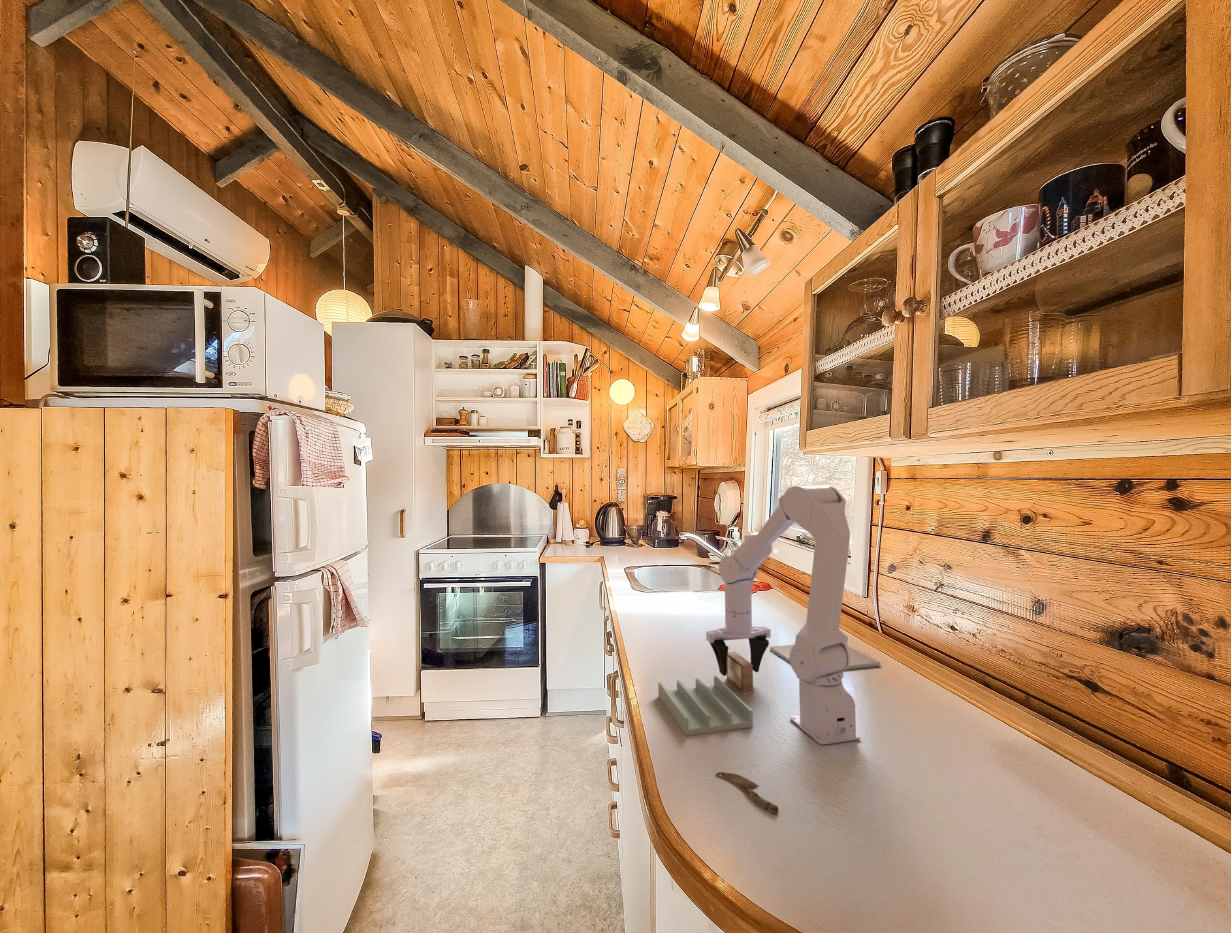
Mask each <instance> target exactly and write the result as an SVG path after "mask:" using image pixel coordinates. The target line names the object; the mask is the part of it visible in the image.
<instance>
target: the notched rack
mask: <svg viewBox="0 0 1231 933" xmlns="http://www.w3.org/2000/svg"><path fill="white" fill-rule="evenodd" d="M657 692H658V698H659V700H660V701H661V702H662V704H663V705H664V706H665V708H666V709H667V711H668V712H669V714H670V716H671V717H672V718H673V719H674V721H675V722H676V724H677V725H678V726H679V729H681V731H682V733H683V734H684V735H685V736H688V737H689V736H695V735H702V734H709V733H715V732H716V733H718V732H725V731H732V730H740V729H741V730H742V729H748V727H749V728H753V727H754V718H753V717H754V714H753V713H754V711H753V709H752V708H751V707H750V706H749V705H748V704H746V703H745V702H744V701H743V700H742V699H741V698H740V697H739V696H738V695H737V694H736V693H735V692H734V691H733V690H732V689H731V688H729V686H727V685H726V684H725V683H724V682H723V681H722V680H721V679H720V678H719V677H718V676H716V675H714V676H713V685H709V686H708V685H707V686H706V684H705V683H704V682H703V681H702V680H701V679H700V678H699V677H695V687H691V688H690V687H689V688H688V687H686V686H685V684H684V683H683V682H682V681H681V680H680V679H676V689H672V690H671V689H670V690H667V688H666V687H665V685H664V684H663V683H662V682H661V681H658V689H657Z"/></svg>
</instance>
